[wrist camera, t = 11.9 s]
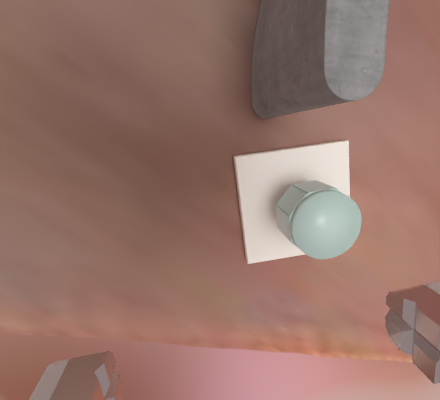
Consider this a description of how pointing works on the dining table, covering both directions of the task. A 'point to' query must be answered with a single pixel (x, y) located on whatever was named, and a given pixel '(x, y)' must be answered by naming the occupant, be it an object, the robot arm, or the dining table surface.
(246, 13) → the dining table surface
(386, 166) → the dining table surface
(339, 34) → the hip flask
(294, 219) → the cap
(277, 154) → the post stand
